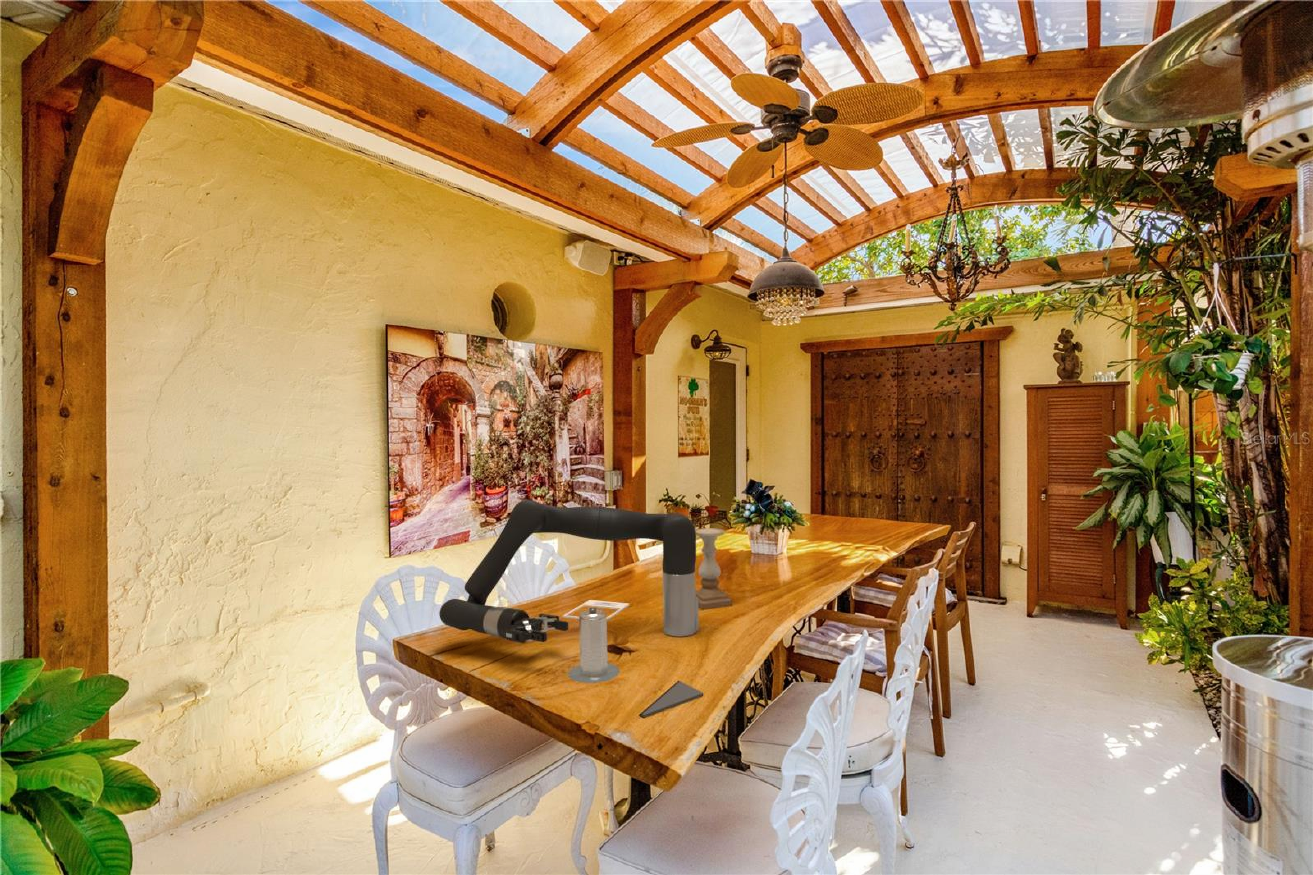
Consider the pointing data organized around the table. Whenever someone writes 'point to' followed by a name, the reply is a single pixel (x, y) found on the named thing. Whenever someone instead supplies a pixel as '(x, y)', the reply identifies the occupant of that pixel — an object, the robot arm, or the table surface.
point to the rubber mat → (672, 698)
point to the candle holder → (710, 573)
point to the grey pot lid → (577, 676)
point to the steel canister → (593, 643)
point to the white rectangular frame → (601, 605)
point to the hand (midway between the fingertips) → (557, 631)
